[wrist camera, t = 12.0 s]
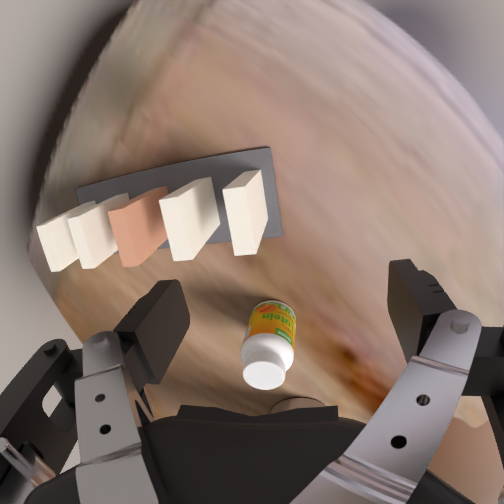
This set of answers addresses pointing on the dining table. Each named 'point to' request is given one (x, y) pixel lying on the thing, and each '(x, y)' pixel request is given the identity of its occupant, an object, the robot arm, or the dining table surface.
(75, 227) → the domino
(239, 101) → the dining table surface
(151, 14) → the dining table surface
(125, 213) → the domino
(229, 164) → the mat
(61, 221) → the domino
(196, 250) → the domino
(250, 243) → the domino
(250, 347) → the supplement bottle
